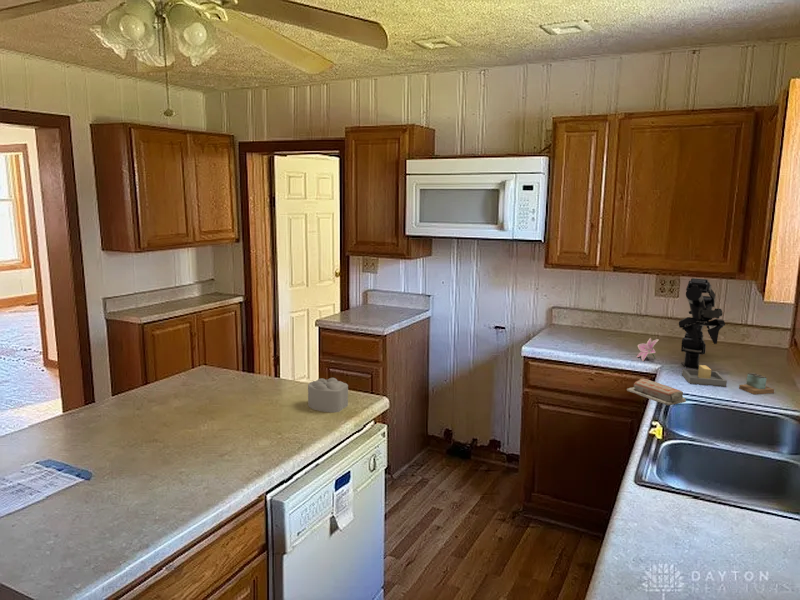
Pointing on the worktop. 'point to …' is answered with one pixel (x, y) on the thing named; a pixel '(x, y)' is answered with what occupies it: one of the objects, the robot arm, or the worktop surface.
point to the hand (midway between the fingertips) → (706, 343)
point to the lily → (646, 348)
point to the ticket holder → (756, 384)
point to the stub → (704, 372)
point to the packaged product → (657, 392)
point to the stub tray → (714, 380)
